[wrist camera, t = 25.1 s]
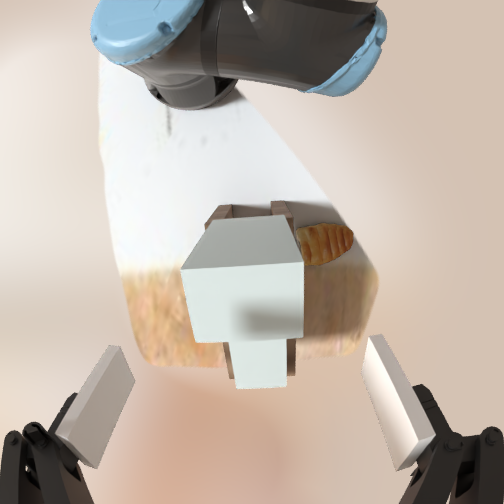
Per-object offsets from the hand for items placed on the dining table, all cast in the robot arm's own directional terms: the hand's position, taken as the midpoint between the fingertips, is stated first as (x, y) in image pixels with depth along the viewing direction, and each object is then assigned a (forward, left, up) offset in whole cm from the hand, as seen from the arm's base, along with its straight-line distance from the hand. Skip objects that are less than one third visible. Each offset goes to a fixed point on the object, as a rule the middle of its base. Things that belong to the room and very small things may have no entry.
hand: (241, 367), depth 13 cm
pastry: (+4, +10, -32) cm, 34 cm away
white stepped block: (+8, 0, -20) cm, 21 cm away
